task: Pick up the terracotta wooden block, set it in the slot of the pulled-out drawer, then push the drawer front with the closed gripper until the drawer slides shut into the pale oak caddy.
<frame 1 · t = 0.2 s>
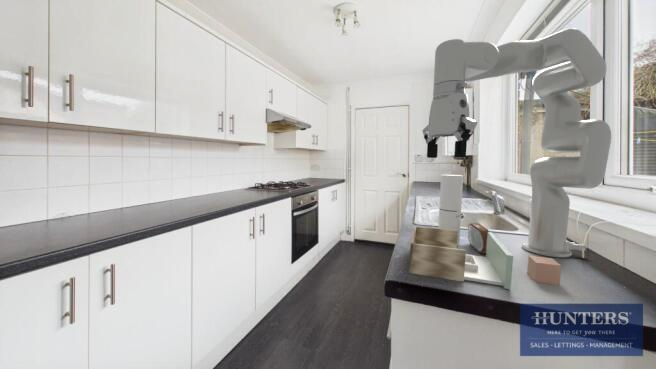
hand: (445, 157, 68), 31 cm above the table, tool pointing down, fingers open, 9 cm apart
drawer: (471, 253, 70), point 4 cm above the table, slide at 8.0 cm
tin: (477, 250, 87), on the table
block: (542, 279, 65), on the table
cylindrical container: (448, 243, 93), on the table
caddy: (444, 264, 73), on the table
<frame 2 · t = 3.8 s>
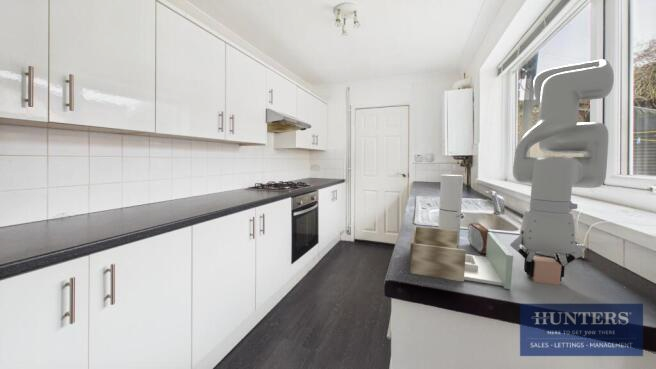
hand: (542, 276, 65), 1 cm above the table, tool pointing down, fingers closed on block, 5 cm apart
block: (542, 279, 65), on the table, touching gripper
everything else where it was.
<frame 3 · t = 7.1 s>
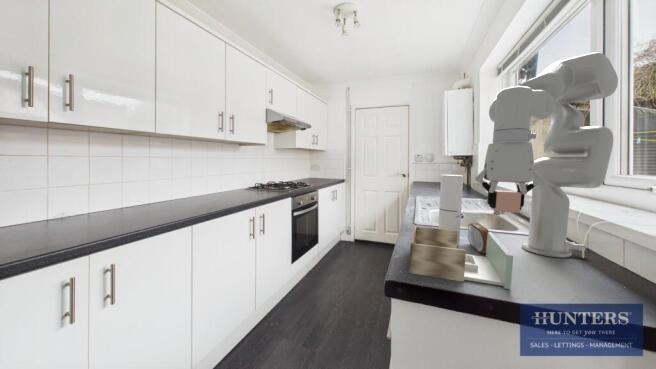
hand: (504, 207, 66), 18 cm above the table, tool pointing down, fingers closed on block, 4 cm apart
block: (504, 210, 66), point 17 cm above the table, touching gripper
everything else where it was.
when the fingers open (4 cm above the table, at t = 10.8 s): block drops 2 cm, resting on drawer.
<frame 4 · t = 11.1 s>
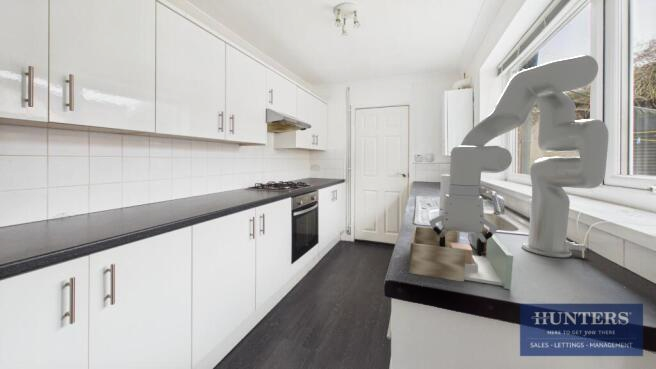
hand: (460, 252, 71), 4 cm above the table, tool pointing down, fingers open, 8 cm apart
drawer: (471, 253, 70), point 4 cm above the table, slide at 8.0 cm, touching block
block: (459, 263, 72), point 1 cm above the table, touching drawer
everything else where it was.
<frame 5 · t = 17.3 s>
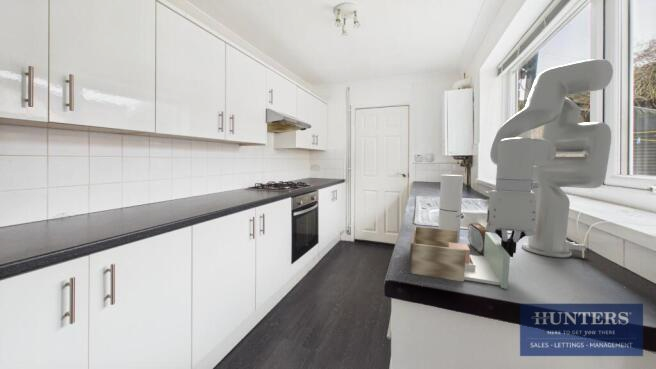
hand: (507, 254, 67), 5 cm above the table, tool pointing down, fingers closed
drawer: (469, 253, 71), point 4 cm above the table, slide at 7.4 cm, touching block, gripper
everything else where it was.
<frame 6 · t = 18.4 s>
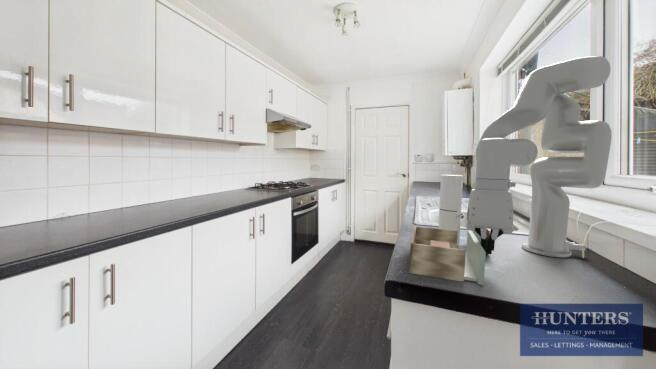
hand: (486, 252, 69), 5 cm above the table, tool pointing down, fingers closed
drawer: (450, 250, 72), point 4 cm above the table, slide at 2.6 cm, touching block, gripper
block: (439, 260, 74), point 1 cm above the table, touching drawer
everything else where it was.
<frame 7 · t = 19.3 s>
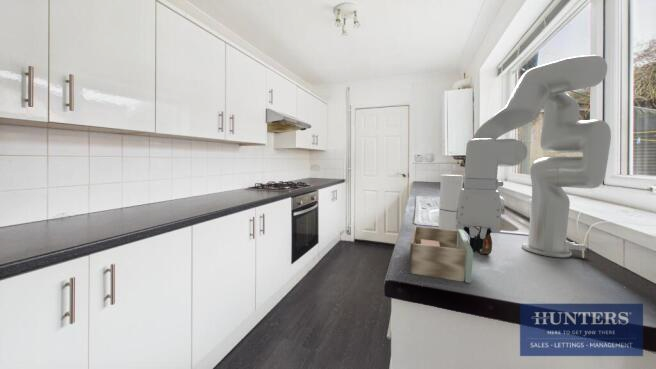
hand: (475, 250, 70), 5 cm above the table, tool pointing down, fingers closed
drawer: (440, 249, 73), point 4 cm above the table, slide at -0.1 cm, touching block, gripper
block: (429, 259, 75), point 1 cm above the table, touching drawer
everything else where it was.
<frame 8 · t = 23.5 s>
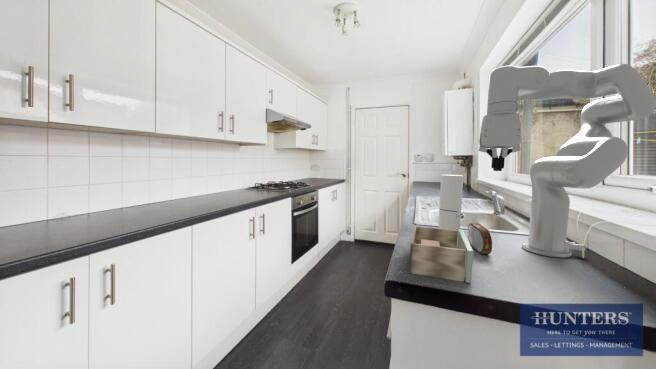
hand: (497, 170, 79), 27 cm above the table, tool pointing down, fingers closed
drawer: (440, 249, 73), point 4 cm above the table, slide at 0.0 cm, touching block
everything else where it was.
at the end: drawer slide at 0.0 cm; block 0.0 cm from the target spot on the caddy, point 1.0 cm above the caddy's base; block tilted 0° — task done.
